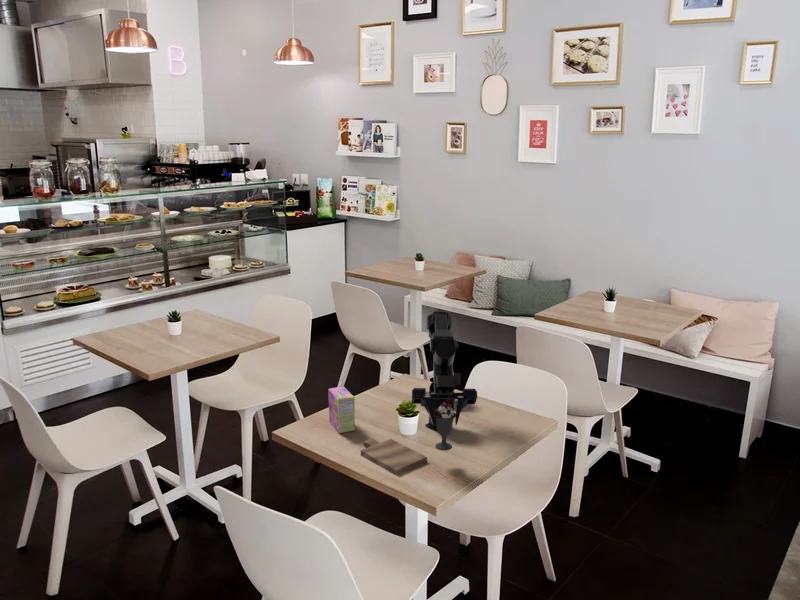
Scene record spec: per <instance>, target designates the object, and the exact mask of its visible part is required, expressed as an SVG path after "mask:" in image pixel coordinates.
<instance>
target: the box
mask: <svg viewBox="0 0 800 600" xmlns="http://www.w3.org/2000/svg"><path fill="white" fill-rule="evenodd" d="M327 391H328V415H329V416H328V417H329V419H328V420H329V423H330V424H331V426H333V428H334V429H335V431H336V432H337V433H338V434H342V433H348V432H354V431H356V421H355V419H356V416H355V414H356V410H355V405H356V404H355V400H356V399H355V396H354V395H353V394H352V393H351V392H350V391H349V390H348V389H347V388H346V387H345V386H338V387H331V388H328V390H327Z"/></svg>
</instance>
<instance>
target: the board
mask: <svg viewBox="0 0 800 600" xmlns="http://www.w3.org/2000/svg"><path fill="white" fill-rule="evenodd" d="M363 447H364V448H363V449H360V456H362V457H363V456H364V458H365V457H366V458H365V459H367V460H369V461H371V462H372V463H375V464H376V465H378V466H380V467H381V468H383V469H385V470H387V471H389V472H390V473H391V474H394V475H396V476H398V475H400V474H402V473H404V472H406V471H408V470H411V469H413V468H416V467H418V466H421V465H423V464H426V463H427V462H428V457H427V456H426V455H424V454H422V453H420V452H418V451H415V450H414V449H412V448H410V447H408V446H406V445H404V444H402V443H400V442H398V441H397V440H394V439H393V438H390V439H387V440H384V441H380V442H379V441H378V440H375V439H374V438H369V439H367V440H364V441H363Z"/></svg>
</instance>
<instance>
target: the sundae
mask: <svg viewBox="0 0 800 600" xmlns="http://www.w3.org/2000/svg"><path fill="white" fill-rule="evenodd" d="M448 399H449V400H450V396H449V397H448ZM447 401H448V400H447ZM447 401H446V402H447ZM446 402H444V403H443V404H442V405H441V406H439V408H438V410H434V413H433V416H434V417H435V418H436V426H437V431H438V432H437V431H436V432H437V433H438V434H439V436H441V442H438V443H436V444H435V445H434V446H435V447H434V448H435V449H437V450H438V451H442V452H443V451H450V450H452V449H453V444H451V443H449V442H447V436H449V435H450V434H451V433H452V429H453V424H454V420H455V417H456V412H455V411H454V410H453V409H452V408H451V404H450V402H449V404H446Z"/></svg>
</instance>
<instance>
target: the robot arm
mask: <svg viewBox="0 0 800 600" xmlns="http://www.w3.org/2000/svg"><path fill="white" fill-rule="evenodd" d="M452 327H453V317H452V316H451V315H450V314H449V311H446V310H435V311H432V313H431V314H429V315H427V317H426V330H427V331H428V337H429V340H430V341H429V342H430V343H429V347H430V348H429V349H430V350H429V351H430V352H431V354H432V356H433V359H432V361H433V363H432V364H433V365H432V366H433V367H432V368H433V370H432V371H433V373H432V374H433V376H432V377H433V378H432V379H433V380H432V382H431V383H430V385H429V387H428V388H429V389H428V391H427V390H426V389H427V388H425V387H414V388H413V389H412V390H411V404H414V405H420V406H421V407H424V408H425V410H426V412H427V414H428V423H425V425H424V426H425V427H426V428H429V429H431V430H434V432H437V433H438V431H437V426H436V418H435V417H434V416H433V413H434V410H438V408H439V406H441V405H442V404H443V403H444V402H446V401H447V400H448V401H447V402H446V404H449V402H450V404H451V408H452V409H453V411H454V410H455V413H456V417H455V418H454V422H455V426H458V422H459V419H460V415H461V412H462V411H463V408H467V406H468V405H475V404H477V403H476V402H477V399H478V391H477V389H476V388H462V392H455V390H456V385H461V382H462V381H461V380H462V378H461V373H460V372H454V367H453V366H454V365H453V363H454V362H455V361H454V360H455V354H456V353H457V351H459V344H458V342H457V340H456V338H454V334H453V332H451V331H452ZM453 373H454V375H453ZM455 384H456V385H455ZM449 396H450V400H449V399H448V397H449ZM455 400H457V402H456V401H455ZM455 402H456V409H455Z"/></svg>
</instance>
